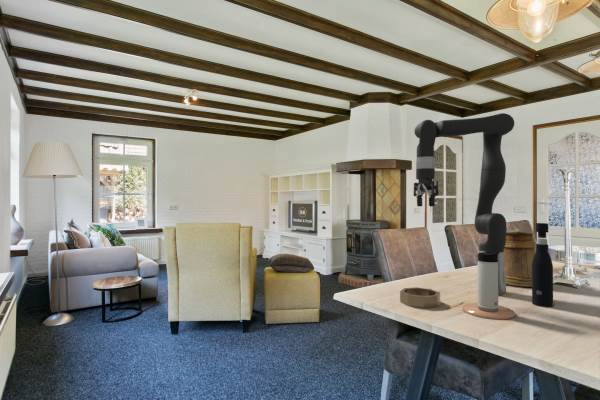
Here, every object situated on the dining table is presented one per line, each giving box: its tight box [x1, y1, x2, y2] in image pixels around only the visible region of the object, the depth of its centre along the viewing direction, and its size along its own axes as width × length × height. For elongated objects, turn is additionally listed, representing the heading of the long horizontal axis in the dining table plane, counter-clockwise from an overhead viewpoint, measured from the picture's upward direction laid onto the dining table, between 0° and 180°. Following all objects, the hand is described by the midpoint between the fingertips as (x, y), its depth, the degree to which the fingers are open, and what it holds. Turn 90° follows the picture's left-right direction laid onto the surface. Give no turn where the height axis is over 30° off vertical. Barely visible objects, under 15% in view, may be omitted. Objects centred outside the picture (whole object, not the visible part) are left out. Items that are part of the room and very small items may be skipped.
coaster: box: [461, 302, 516, 321], centre depth 122 cm, size 16×16×1 cm
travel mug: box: [477, 251, 499, 312], centre depth 122 cm, size 6×7×20 cm
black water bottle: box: [531, 222, 554, 308], centre depth 131 cm, size 6×6×30 cm
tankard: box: [504, 227, 536, 288], centre depth 167 cm, size 18×24×25 cm
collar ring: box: [399, 287, 441, 309], centre depth 134 cm, size 13×13×4 cm
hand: (425, 206), depth 150 cm, fingers open, 8 cm apart
